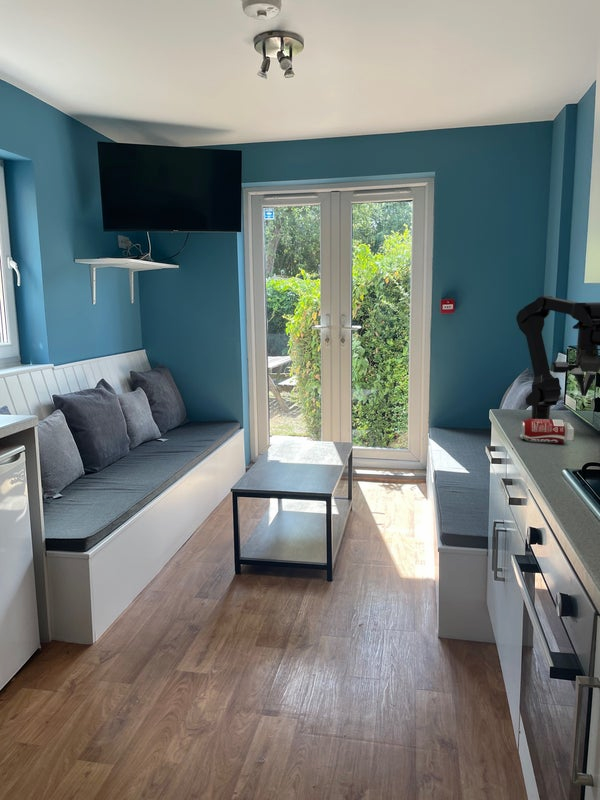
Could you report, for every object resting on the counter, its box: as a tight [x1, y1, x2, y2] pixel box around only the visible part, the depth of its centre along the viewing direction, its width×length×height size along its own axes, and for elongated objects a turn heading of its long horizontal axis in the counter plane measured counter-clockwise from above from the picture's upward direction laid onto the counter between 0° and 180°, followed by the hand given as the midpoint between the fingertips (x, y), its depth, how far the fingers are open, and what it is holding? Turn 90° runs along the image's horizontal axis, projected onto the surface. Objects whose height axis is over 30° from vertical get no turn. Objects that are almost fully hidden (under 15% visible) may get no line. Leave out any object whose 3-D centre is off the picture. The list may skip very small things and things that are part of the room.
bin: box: [565, 421, 575, 442], centre depth 176 cm, size 9×12×4 cm
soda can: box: [519, 418, 568, 444], centre depth 169 cm, size 7×7×12 cm
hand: (583, 395), depth 176 cm, fingers closed
